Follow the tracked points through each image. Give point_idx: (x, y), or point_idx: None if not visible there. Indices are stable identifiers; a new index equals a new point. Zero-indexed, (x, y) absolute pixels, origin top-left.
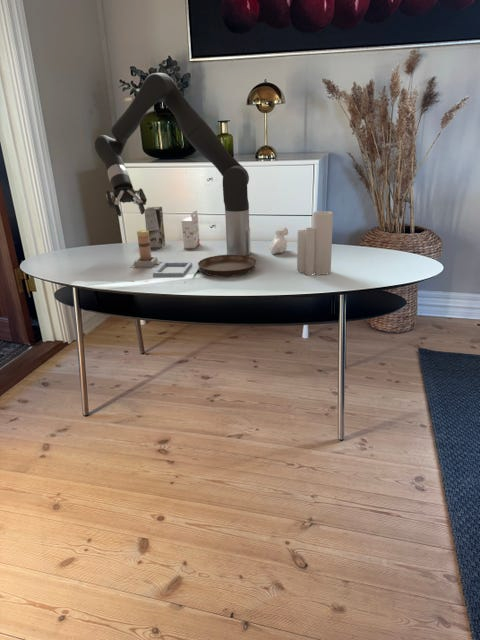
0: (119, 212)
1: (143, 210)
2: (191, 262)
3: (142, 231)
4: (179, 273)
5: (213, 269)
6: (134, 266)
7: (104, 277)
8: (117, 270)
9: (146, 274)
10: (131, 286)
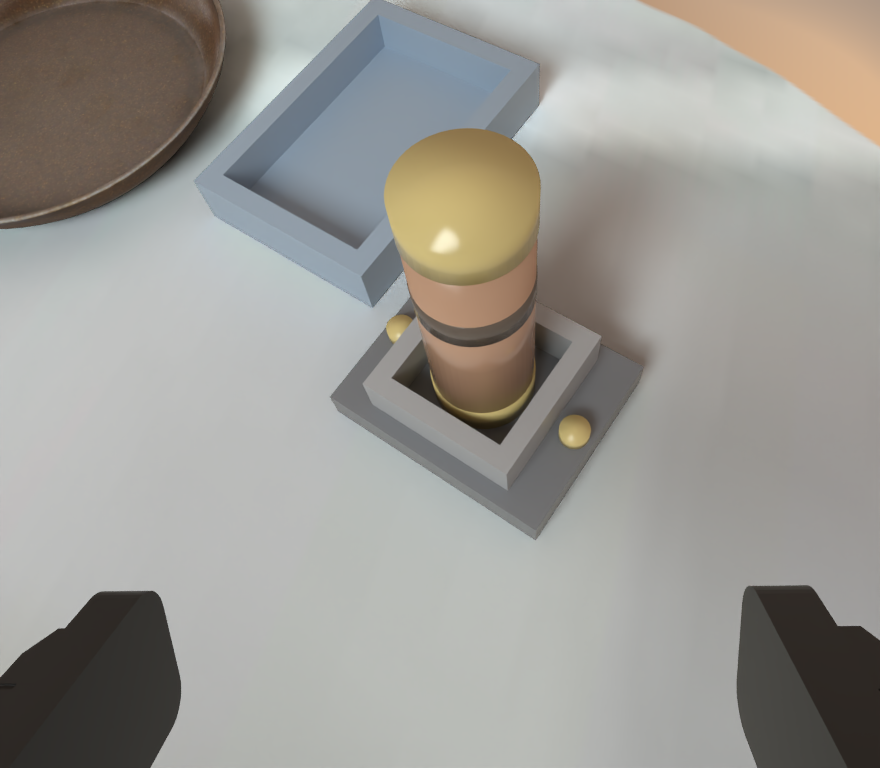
0: (805, 587)
1: (107, 591)
2: (201, 174)
3: (464, 191)
4: (392, 4)
5: (128, 127)
6: (596, 375)
7: (868, 326)
8: (738, 478)
9: (538, 248)
10: (696, 64)
